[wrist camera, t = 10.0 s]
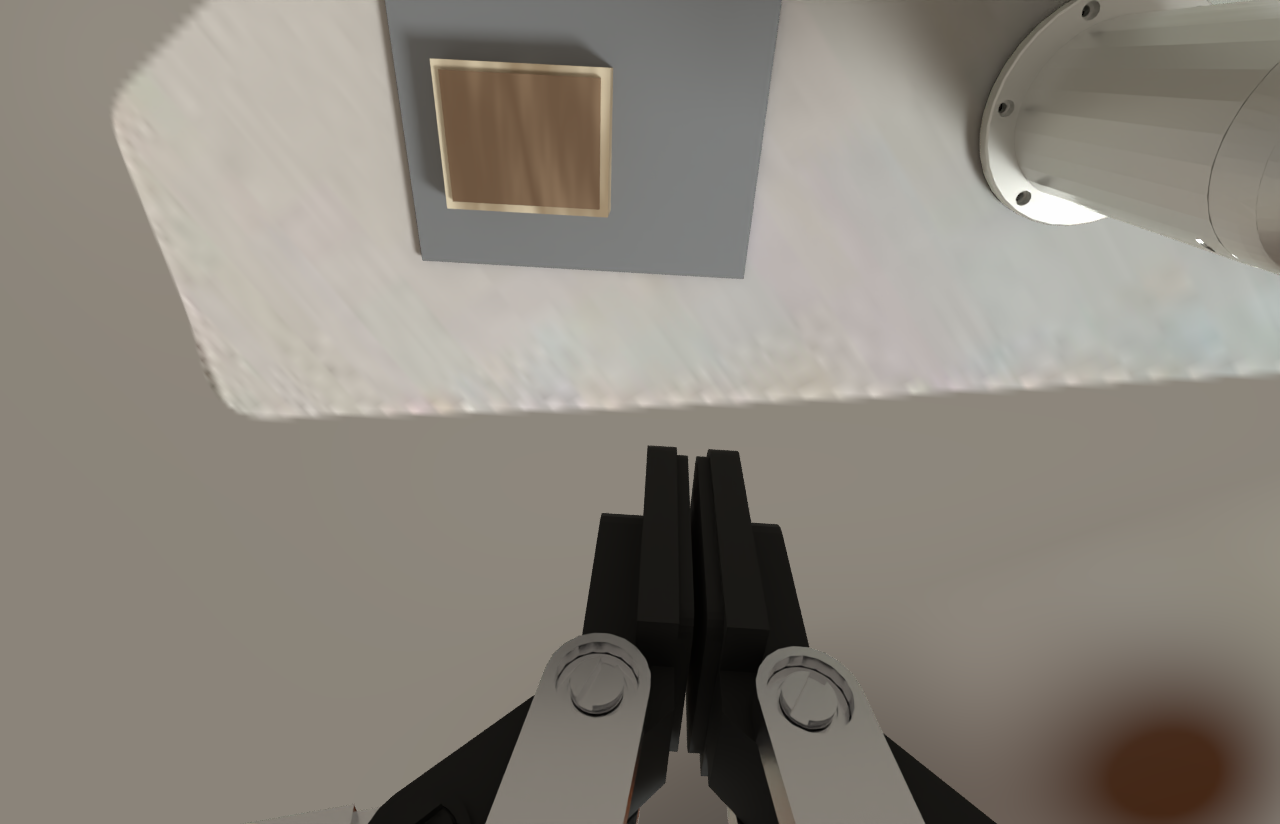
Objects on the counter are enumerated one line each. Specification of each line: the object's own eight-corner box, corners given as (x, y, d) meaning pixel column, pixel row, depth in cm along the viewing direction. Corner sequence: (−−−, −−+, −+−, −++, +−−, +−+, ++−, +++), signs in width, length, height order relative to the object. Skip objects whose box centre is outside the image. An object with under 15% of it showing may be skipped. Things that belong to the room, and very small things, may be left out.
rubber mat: (781, -9, 32) (782, -9, 32) (742, 277, 40) (743, 278, 40) (383, -28, 33) (380, -29, 32) (424, 258, 41) (422, 260, 40)
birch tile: (609, 67, 32) (427, 58, 32) (607, 218, 36) (445, 209, 36) (613, 67, 34) (441, 58, 34) (610, 210, 38) (457, 202, 38)
